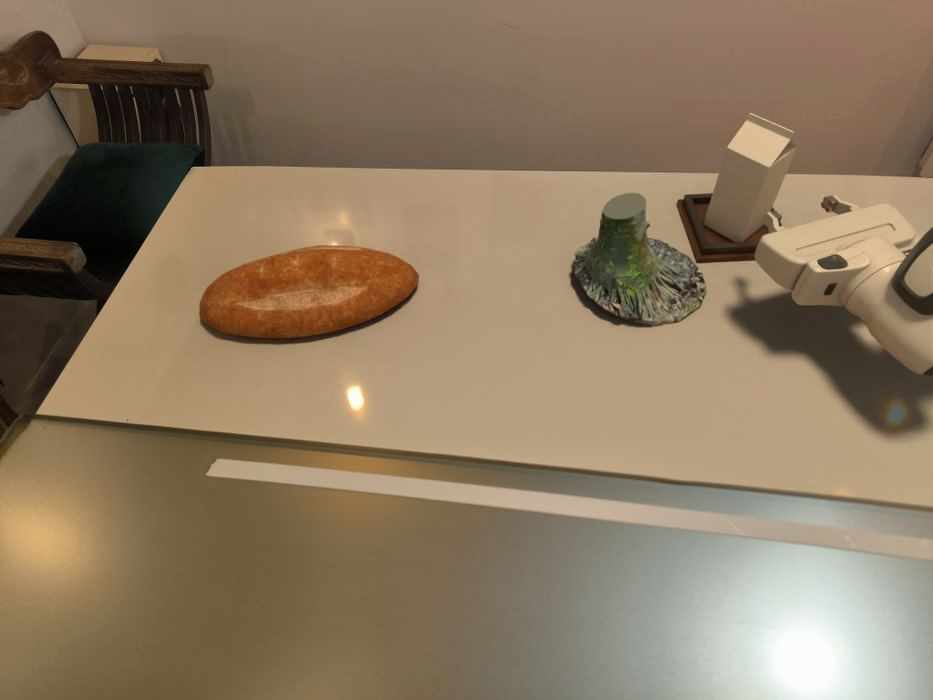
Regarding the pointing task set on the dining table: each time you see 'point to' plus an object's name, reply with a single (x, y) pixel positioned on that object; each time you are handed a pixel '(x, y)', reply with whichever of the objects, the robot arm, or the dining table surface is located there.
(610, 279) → the tree stump
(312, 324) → the bread
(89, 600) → the dining table surface
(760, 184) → the milk carton
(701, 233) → the tray
